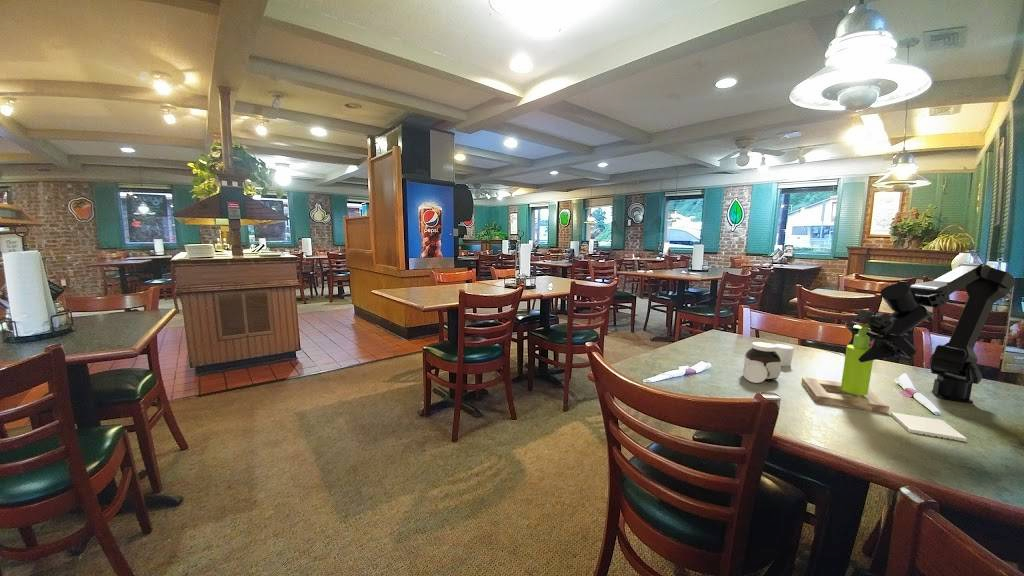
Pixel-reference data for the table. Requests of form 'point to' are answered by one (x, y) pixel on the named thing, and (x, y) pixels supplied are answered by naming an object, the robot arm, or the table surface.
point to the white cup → (785, 353)
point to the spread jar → (762, 363)
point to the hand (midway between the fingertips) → (851, 357)
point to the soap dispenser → (857, 364)
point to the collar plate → (842, 396)
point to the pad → (927, 426)
